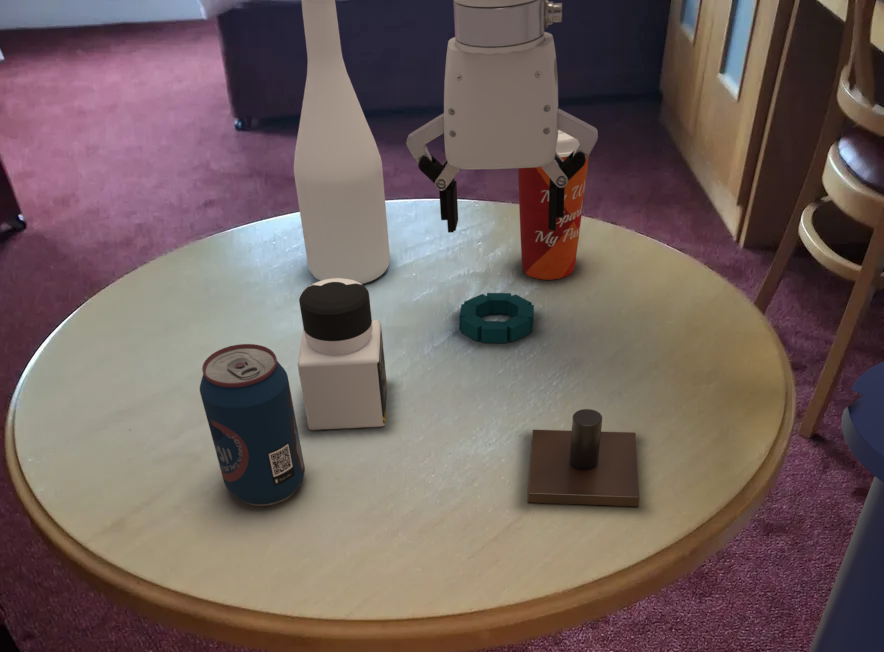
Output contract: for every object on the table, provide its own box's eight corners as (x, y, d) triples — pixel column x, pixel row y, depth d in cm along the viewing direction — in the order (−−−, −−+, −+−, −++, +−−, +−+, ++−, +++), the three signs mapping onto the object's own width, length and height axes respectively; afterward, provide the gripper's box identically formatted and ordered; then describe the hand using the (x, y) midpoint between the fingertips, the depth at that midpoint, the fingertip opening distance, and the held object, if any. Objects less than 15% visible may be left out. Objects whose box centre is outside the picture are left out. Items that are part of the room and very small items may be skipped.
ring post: (634, 441, 81) (641, 387, 77) (638, 507, 74) (646, 452, 70) (532, 438, 82) (534, 385, 78) (527, 502, 75) (529, 448, 72)
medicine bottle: (385, 428, 84) (373, 307, 75) (308, 431, 84) (287, 311, 75) (387, 385, 89) (375, 267, 80) (314, 388, 89) (295, 271, 80)
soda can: (211, 485, 79) (177, 363, 70) (277, 451, 82) (252, 330, 74) (256, 522, 75) (225, 398, 67) (323, 485, 78) (302, 362, 70)
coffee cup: (549, 292, 100) (556, 148, 90) (497, 268, 105) (497, 129, 94) (600, 266, 104) (612, 125, 93) (547, 244, 108) (553, 108, 98)
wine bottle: (326, 248, 110) (285, -51, 89) (400, 254, 108) (377, -50, 87) (297, 285, 104) (246, -27, 83) (376, 292, 102) (344, -26, 81)
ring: (534, 306, 98) (534, 293, 97) (531, 343, 93) (531, 329, 92) (464, 306, 99) (463, 292, 98) (457, 342, 94) (456, 328, 93)
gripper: (603, 5, 78) (592, 208, 90) (403, 15, 80) (419, 211, 92) (605, 30, 72) (593, 241, 84) (390, 39, 75) (409, 244, 87)
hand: (502, 225), depth 88 cm, fingers open, 9 cm apart
